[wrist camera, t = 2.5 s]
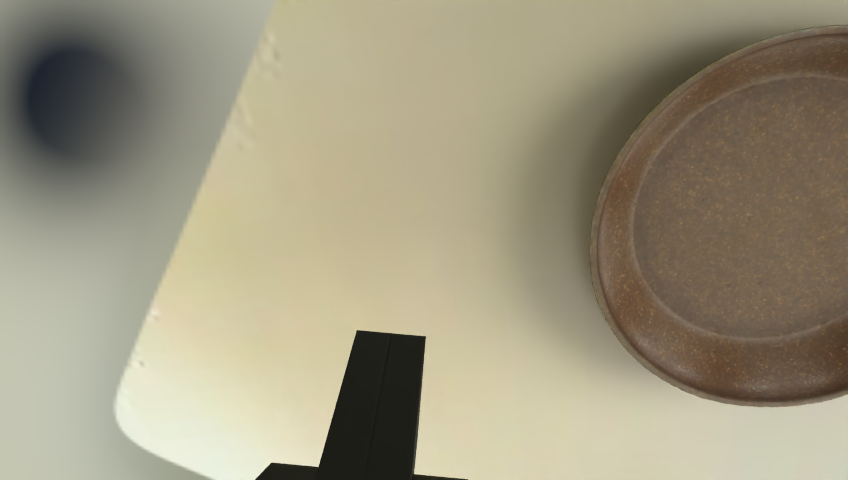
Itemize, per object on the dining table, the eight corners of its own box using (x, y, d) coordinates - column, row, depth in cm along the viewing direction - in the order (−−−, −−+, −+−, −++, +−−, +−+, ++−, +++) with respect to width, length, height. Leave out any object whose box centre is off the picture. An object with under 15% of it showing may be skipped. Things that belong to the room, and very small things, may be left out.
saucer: (563, 55, 24) (574, 69, 22) (1008, -20, 22) (1074, -15, 20) (593, 385, 30) (604, 425, 28) (947, 348, 28) (993, 387, 26)
